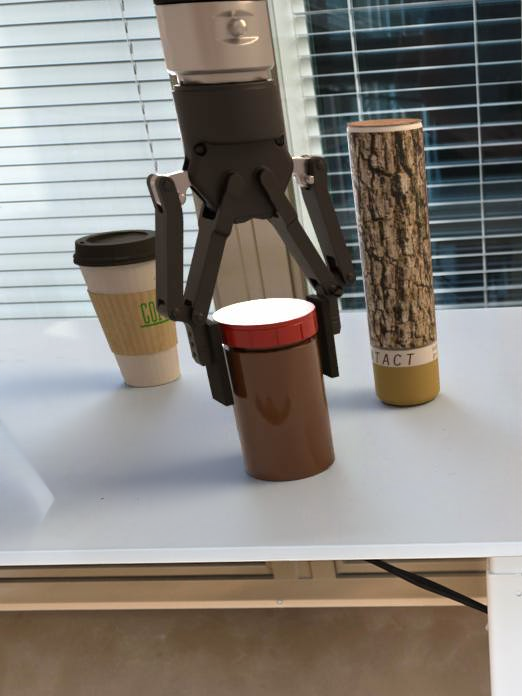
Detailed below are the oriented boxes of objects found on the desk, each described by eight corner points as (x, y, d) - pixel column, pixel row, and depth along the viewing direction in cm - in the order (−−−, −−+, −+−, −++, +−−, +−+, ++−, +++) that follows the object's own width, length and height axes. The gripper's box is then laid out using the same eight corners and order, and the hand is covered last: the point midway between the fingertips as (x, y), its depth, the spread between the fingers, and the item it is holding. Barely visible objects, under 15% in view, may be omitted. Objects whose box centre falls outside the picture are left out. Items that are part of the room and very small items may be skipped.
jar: (243, 485, 76) (212, 338, 69) (247, 450, 83) (220, 312, 76) (336, 475, 77) (315, 329, 70) (333, 441, 84) (314, 304, 76)
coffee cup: (209, 379, 101) (177, 236, 92) (122, 398, 96) (80, 251, 88) (180, 359, 107) (149, 224, 99) (98, 376, 103) (57, 237, 94)
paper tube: (404, 382, 97) (380, 118, 83) (453, 392, 93) (437, 118, 79) (362, 401, 92) (329, 125, 78) (413, 412, 89) (388, 126, 75)
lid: (318, 343, 70) (315, 319, 69) (212, 352, 70) (207, 329, 68) (317, 316, 77) (314, 294, 76) (221, 324, 76) (216, 302, 75)
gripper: (85, 90, 55) (171, 432, 68) (381, 68, 66) (407, 368, 79) (50, 88, 60) (137, 407, 73) (330, 68, 71) (363, 350, 84)
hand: (277, 387), depth 76 cm, fingers open, 9 cm apart
